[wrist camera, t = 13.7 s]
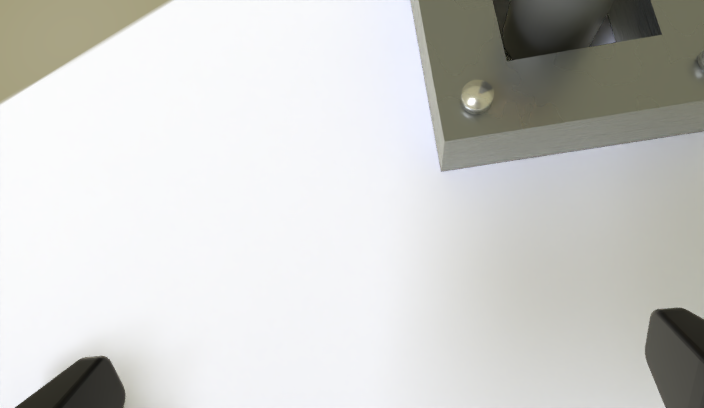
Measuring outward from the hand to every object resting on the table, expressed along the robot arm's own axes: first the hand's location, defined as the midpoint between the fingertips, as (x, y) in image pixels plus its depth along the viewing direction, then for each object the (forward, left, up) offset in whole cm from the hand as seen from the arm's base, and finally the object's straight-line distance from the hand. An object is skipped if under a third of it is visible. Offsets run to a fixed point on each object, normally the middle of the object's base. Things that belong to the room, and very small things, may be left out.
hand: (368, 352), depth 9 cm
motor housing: (+1, -16, -14) cm, 21 cm away
